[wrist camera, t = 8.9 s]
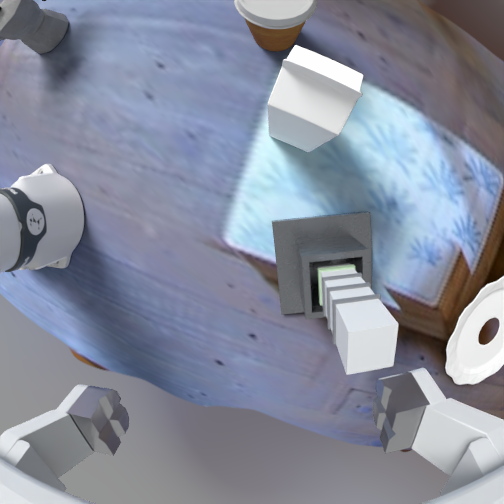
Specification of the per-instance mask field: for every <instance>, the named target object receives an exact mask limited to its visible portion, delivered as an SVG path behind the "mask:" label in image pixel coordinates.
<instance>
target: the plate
mask: <svg viewBox="0 0 504 504" xmlns="http://www.w3.org/2000/svg"><path fill="white" fill-rule="evenodd" d="M493 317H496V318H498V319H499V322H500V326H499V330H498V333H497V335H496V336H495V338H494V339H493V340H492V341H491V342H490V343H488V344H486V345H480V344H479V342H478V335H479V332H480V330H481V328H482V326H483V325H484V323H485V322H486V321H487V320H489V319H490V318H493ZM446 356H447V359H446V365H445V369H446V373H447V374H448V375H449V376H451V377H452V379H453V381H454V383H456V384H458V385H462V384H472V385H473V384H476V383H479V382H480V381H482V380H483V379H485V378H486V377H488V376H490V375H492V374H494V373H495V372H497V371H498V370H499V369H500V368H501V367H502V365H503V364H504V276H502V277H501V278H499V279H498V280H497V281H494V282H491V283H488V284H487V285H485V286H484V287H483V288H482V289H481V290H480V291H479V292H478V294H477V295H476V297H475V298H474V300H473V301H472V302H471V303H470V304H469V305H468V306H467V307H465V308H464V310H463V312H462V313H461V315H460V316H459V318H458V321H457V324H456V327H455V330H454V331H453V333H452V335H451V337H450V338H449V340H448V343H447V347H446Z"/></svg>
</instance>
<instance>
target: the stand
mask: <svg viewBox="0 0 504 504" xmlns="http://www.w3.org/2000/svg"><path fill="white" fill-rule="evenodd" d="M272 226H273V235H274V244H275V253H276V263H277V273H278V283H279V293H280V303H281V314H292V313H301V312H304V313H305V318H306V319H313V318H322V317H326V316H324V315H323V306H322V305H321V306H320V303H319V286H318V266H326V265H335V264H344V263H350V264H351V265H353V264H354V265H355V270H356V272H357V273H361V274H362V279H363V280H364V281H365V282H366V283H368V282H369V283H370V284H371V287H372V251H371V220H370V212H359V213H348V214H336V215H325V216H315V217H304V218H294V219H285V220H275V221H272Z"/></svg>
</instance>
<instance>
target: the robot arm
mask: <svg viewBox="0 0 504 504" xmlns="http://www.w3.org/2000/svg"><path fill="white" fill-rule="evenodd" d="M83 228H84V211H83V205H82V201H81V198H80V196H79V194H78V192H77V190H76V188H75V187H74V185H73V184H72V183H71V182H70V181H69V180H68V179H66V178H64V177H63V176H61V175H59V174H58V173H57V171H56V170H55V168H54V167H53V166H52V165H51V164H45V165H43V166H42V167H40V168H39V169H37V170H36V171H35V172H33V173H32V174H31V175H29V176H23V177H20V178H19V180H18V181H16V182H15V183H14V184H13V185H12V186H11V187H10V188H1V189H0V273H2V272H4V271H5V272H11V271H13V270H18V269H20V270H24V269H28V268H29V270H34V269H36V270H37V269H40V268H43V267H45V266H49V267H55V268H66V267H67V266H68V265H69V262H70V258H71V254H72V252H73V250H74V249H75V248H76V246H77V245H78V243H79V241H80V239H81V236H82V233H83ZM58 261H59V262H58ZM375 389H376V392H377V394H378V395H377V397H376V398H375V399H374V402H373V417H374V422H375V425H376V428H378V429H380V430H381V435H380V440H381V443H382V446H383V448H384V451H385V453H389V452H394V451H398V450H402V449H406V448H410V447H412V449H413V450H414V451H416V452H417V453H419V454H420V455H421V456H423V457H424V458H425V459H427V460H428V461H429V462H431V463H432V464H434V465H435V466H436V467H438V468H439V469H441V470H442V471H443V472H445V473H447V474H448V475H449V476H451V477H450V478H449V480H448V481H447V483H446V484H445V486H444V487H443V488H442V490H441V492H440V494H441V496H440V497H438V498H435V499H432V500H430V501H427V502H424V503H421V504H504V420H503V419H500V418H497V417H495V416H492V415H490V414H487V413H485V412H482V411H480V410H478V409H475V408H473V407H470V406H468V405H466V404H463V403H461V402H458V401H456V400H454V399H451V398H450V399H446V398H445V396H444V395H443V393H442V392H441V390H440V389H439V387H438V386H437V384H436V383H435V382H434V380H433V379H432V377H431V376H430V374H429V373H428V371H427V370H426V369H425V368H420V369H417V370H413V371H409V372H406V373H402V374H398V375H393V376H389V377H384V378H379V379H378V380H377V382H376V388H375ZM120 400H121V398H120V396H119V395H118V392H117V391H115V390H113V389H107V388H100V387H95V386H87V385H82V384H79V385H76V386H75V388H74V389H73V390H72V391H71V392H70V394H69V395H68V396H67V397H66V398H65V399H64V401H63V402H62V403H61V404H60V406H59V407H58V408H57V409H56V410H51V411H49V412H47V413H44V414H42V415H40V416H38V417H36V418H33V419H31V420H29V421H27V422H24V423H22V424H20V425H18V426H15V427H13V428H11V429H8V430H6V431H5V432H4V433H3V434H2V435H1V436H0V504H95V503H92V502H90V501H87V500H84V499H81V498H79V497H76V496H74V495H71V494H69V493H67V492H65V490H66V487H65V485H64V484H63V483H62V482H61V481H60V480H59V479H58V478H59V477H60V476H62V475H63V474H65V473H66V472H67V471H69V470H70V469H72V468H73V467H74V466H76V465H77V464H78V463H80V462H81V461H83V460H84V459H85V458H87V457H88V456H90V455H91V454H92V453H93V451H94V452H99V453H103V454H108V455H113V456H114V454H115V452H116V450H117V448H118V447H119V445H120V443H121V442H120V438H119V437H120V436H122V435H124V434H125V433H126V431H127V429H128V426H129V416H128V413H127V411H126V409H125V408H124V407H123V406H122V405H121V404H120V403H119V402H120Z"/></svg>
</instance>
